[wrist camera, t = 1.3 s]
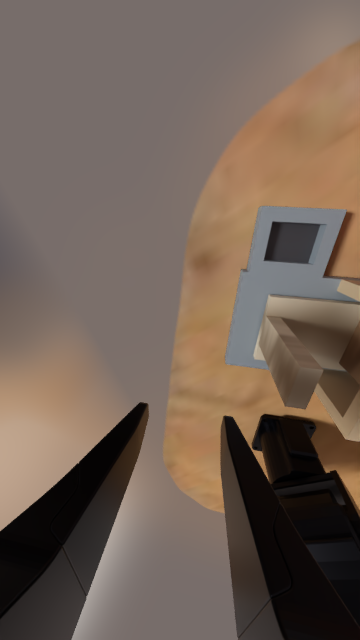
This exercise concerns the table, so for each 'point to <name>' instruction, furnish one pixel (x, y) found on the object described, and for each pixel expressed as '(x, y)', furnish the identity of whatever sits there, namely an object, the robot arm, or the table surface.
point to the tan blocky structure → (303, 342)
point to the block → (352, 355)
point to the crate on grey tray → (295, 294)
